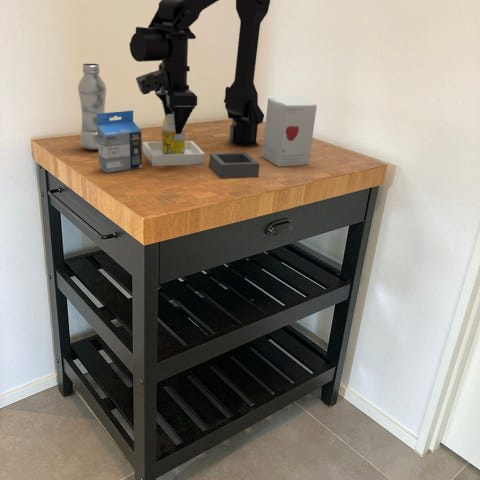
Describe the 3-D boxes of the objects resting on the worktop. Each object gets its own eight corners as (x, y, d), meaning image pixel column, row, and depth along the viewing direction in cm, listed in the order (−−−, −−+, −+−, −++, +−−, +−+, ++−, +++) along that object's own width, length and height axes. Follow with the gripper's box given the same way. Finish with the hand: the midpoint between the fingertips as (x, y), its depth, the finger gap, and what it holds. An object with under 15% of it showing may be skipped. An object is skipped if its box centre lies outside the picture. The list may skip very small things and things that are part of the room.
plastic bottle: (75, 150, 127) (69, 64, 119) (91, 143, 133) (87, 61, 124) (98, 154, 125) (94, 67, 117) (113, 147, 131) (111, 64, 123)
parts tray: (192, 150, 134) (192, 140, 133) (204, 164, 124) (205, 153, 123) (142, 151, 130) (142, 141, 129) (152, 166, 120) (152, 155, 119)
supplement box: (278, 167, 126) (284, 104, 120) (261, 156, 133) (266, 97, 127) (310, 165, 130) (318, 104, 123) (291, 154, 137) (298, 96, 131)
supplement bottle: (188, 157, 126) (189, 117, 122) (168, 159, 123) (169, 119, 119) (177, 151, 130) (178, 112, 126) (158, 153, 127) (158, 114, 123)
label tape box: (106, 174, 113) (104, 117, 108) (98, 168, 116) (95, 113, 111) (142, 168, 118) (142, 113, 113) (133, 163, 121) (133, 109, 116)
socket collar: (244, 164, 126) (245, 152, 125) (258, 176, 119) (259, 163, 118) (209, 165, 123) (209, 153, 122) (220, 178, 116) (221, 165, 115)
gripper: (131, 53, 122) (132, 120, 129) (146, 65, 107) (147, 140, 113) (178, 55, 126) (176, 119, 133) (199, 66, 110) (196, 139, 117)
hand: (173, 129), depth 124 cm, fingers open, 9 cm apart
